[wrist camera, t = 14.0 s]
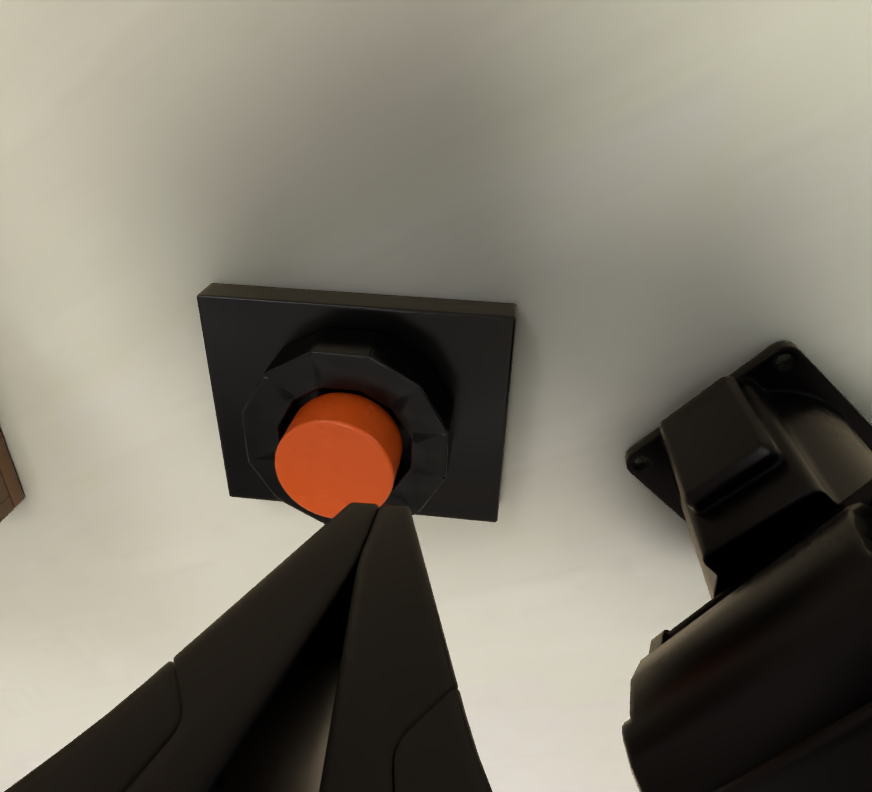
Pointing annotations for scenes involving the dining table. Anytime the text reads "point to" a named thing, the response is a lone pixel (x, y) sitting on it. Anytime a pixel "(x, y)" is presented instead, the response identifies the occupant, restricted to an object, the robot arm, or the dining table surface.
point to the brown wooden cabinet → (8, 483)
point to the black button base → (365, 385)
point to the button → (339, 453)
